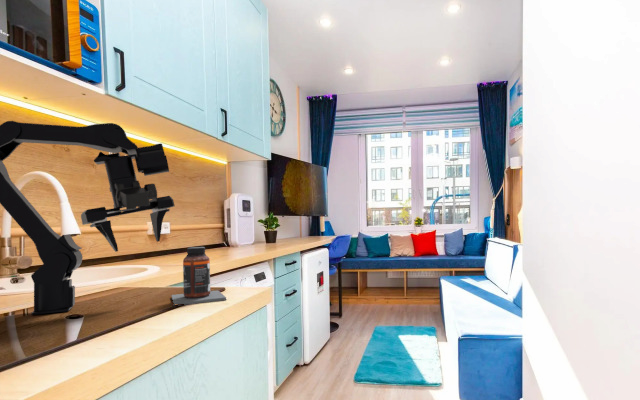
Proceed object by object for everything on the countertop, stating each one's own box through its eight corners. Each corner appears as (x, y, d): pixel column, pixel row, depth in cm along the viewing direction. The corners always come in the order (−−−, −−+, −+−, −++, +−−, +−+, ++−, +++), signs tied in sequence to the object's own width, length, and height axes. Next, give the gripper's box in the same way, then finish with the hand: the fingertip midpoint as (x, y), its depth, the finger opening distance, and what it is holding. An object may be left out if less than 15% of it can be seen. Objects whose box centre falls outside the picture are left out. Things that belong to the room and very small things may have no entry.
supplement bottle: (215, 294, 92) (215, 246, 93) (197, 299, 87) (196, 248, 88) (196, 293, 95) (196, 246, 96) (177, 297, 90) (177, 248, 90)
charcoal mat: (174, 305, 84) (174, 303, 84) (171, 297, 94) (171, 295, 94) (226, 300, 88) (226, 297, 88) (218, 292, 98) (218, 290, 98)
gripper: (83, 179, 77) (102, 256, 78) (175, 168, 90) (190, 234, 90) (73, 188, 86) (89, 257, 86) (158, 176, 98) (172, 237, 98)
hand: (138, 246), depth 90 cm, fingers open, 9 cm apart
